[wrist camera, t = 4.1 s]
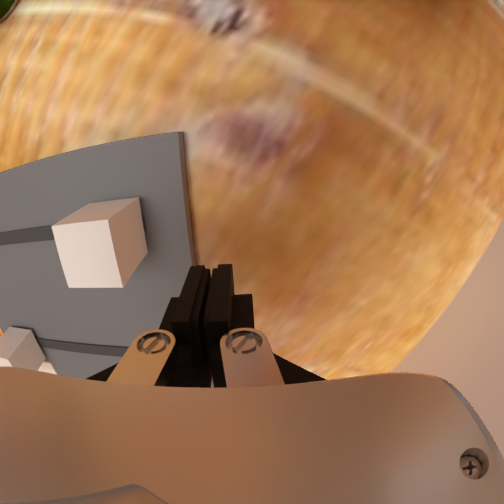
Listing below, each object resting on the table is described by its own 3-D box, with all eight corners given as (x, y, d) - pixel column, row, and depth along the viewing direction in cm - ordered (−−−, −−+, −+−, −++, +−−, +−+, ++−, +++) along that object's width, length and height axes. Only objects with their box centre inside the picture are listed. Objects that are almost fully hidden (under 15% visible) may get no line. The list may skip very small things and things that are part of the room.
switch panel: (182, 131, 19) (177, 131, 17) (215, 384, 28) (214, 396, 27) (-35, 186, 18) (-45, 190, 17) (29, 364, 28) (23, 372, 26)
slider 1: (31, 329, 23) (8, 359, 18) (45, 358, 25) (26, 388, 20) (9, 326, 23) (-14, 353, 18) (23, 354, 25) (4, 381, 20)
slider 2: (138, 197, 18) (107, 219, 14) (147, 252, 20) (123, 287, 15) (89, 203, 18) (51, 225, 14) (100, 254, 20) (68, 287, 15)
